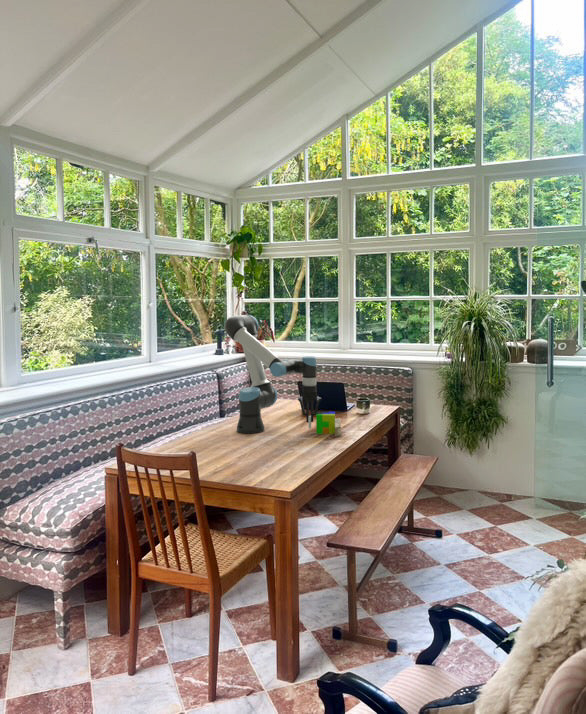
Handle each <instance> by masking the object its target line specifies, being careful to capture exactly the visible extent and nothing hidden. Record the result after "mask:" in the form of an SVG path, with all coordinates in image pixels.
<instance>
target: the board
mask: <svg viewBox="0 0 586 714" xmlns="http://www.w3.org/2000/svg"><path fill="white" fill-rule="evenodd" d="M341 422H342V421H341V418H340V417H339V418H338V417H337V418H336V417H335V434H334V437H341V436H342V423H341Z"/></svg>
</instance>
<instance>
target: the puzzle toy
mask: <svg viewBox="0 0 586 714" xmlns="http://www.w3.org/2000/svg"><path fill="white" fill-rule="evenodd" d="M315 416H316V417H315V419H316V422H315V423H316V425H315V426H316V428H315V431H316V434H319V435H320V434H321V435H323V434H327V435H328V434H329V435H331V434H333V435H335V418H336V411H317V414H316V415H315Z"/></svg>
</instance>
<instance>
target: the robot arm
mask: <svg viewBox="0 0 586 714" xmlns="http://www.w3.org/2000/svg"><path fill="white" fill-rule="evenodd" d="M259 326H260V325H259V322H258V319H257V318H256V317H255V316H253V315H251V314H241V315H231V316H230V317H228V318H227V319H226V321H225V322H224V330H225V333H226V334H227V336H228V337H229V338H230V339H231V340H232V341H234V342H235V343H239V344H240V345H241V347H242V351H243V355H244V358H245V362H246V365H247V369H248V373H249V376H250V377H249V378H250V380H251V385H250V386H249V387H244V388H242V389H240V390H239V392H238V399H239V401H238V405H239V409H238V410H239V418H238V422H237V424H236V432H237V433H241V434H259V433H262V432H264V431H265V425H264V422H263V418H262V415H261V414H262V413H261V411H262V410H261V409H266V408H270V407H271V406H273V405H274V404H275V403H276V402H277V400H278V391H277V389H276V388H275V387H274V386H272V384H271V381H270V380H268V378H267V374H266V372H265V371H266V370H265V368H264V366H266V367H267V368H268V369H269V373H270V374H271V375H272V376H274V377H276V378H279V377H283V376H288V375H292V374H301V375H302V394H301V396H300V397H298V398H297V400H298V402H299V404H300V409H301V412H302V415H303V416H304V417H305V418H306V419H305V420H306V423H308V424H307V426H308V429H312V423H313V422H314V417H315V416H316V414H317V412H318V409H319V405H320V402H321V401H322V397H319V395H318V393H317V392H318V391H317V365H318V364H317V358H316V357H315V356H312V355H311V356H308V355H307V356H302V359H293V358H289V359H288V358H286V359H281V358H280V357H278V356H277V355H276V354H275V353H273V351H271V350H270V349H269V348H268V347H266V346H265V345H264V344H263V343H262V342H260V341H259V340H258V339H257V338H258V335H259V334H258V331H259V329H260V327H259ZM303 400H304V401H305V405H306V406H304V403H303ZM315 401H316V404H315V405H316V406H315V409H314V402H315ZM309 403H310V404H309ZM309 405H310V407H309ZM305 408H306V409H305ZM309 408H310V409H309ZM309 410H310V411H309ZM309 413H310V414H309Z"/></svg>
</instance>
